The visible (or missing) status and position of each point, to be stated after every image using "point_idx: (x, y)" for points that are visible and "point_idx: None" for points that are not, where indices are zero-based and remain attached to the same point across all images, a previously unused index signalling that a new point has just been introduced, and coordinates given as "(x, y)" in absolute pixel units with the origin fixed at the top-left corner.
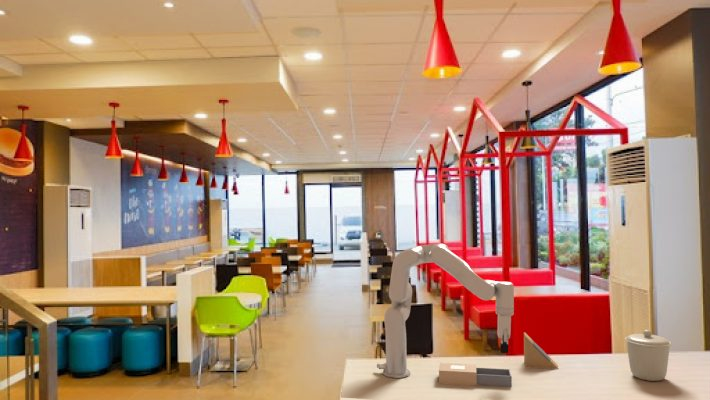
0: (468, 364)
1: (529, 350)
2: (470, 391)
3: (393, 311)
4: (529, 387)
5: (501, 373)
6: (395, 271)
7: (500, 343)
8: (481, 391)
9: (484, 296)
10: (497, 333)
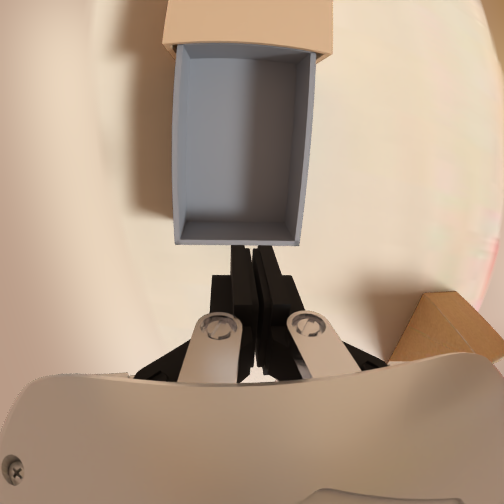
0: (327, 14)
1: (447, 341)
2: (113, 46)
3: None
4: (206, 290)
5: (292, 195)
6: None
7: (282, 299)
8: (116, 88)
9: None
10: (412, 374)
